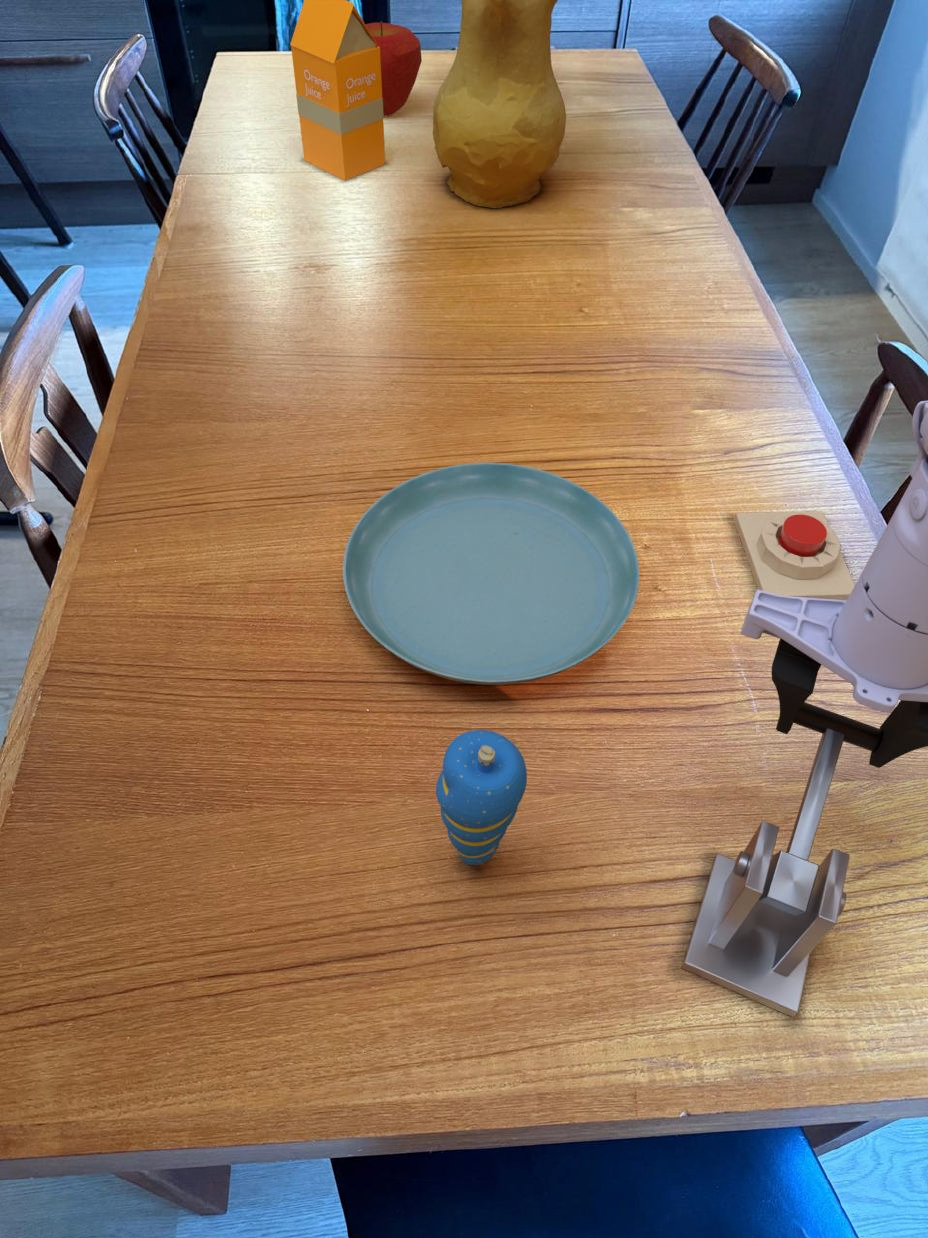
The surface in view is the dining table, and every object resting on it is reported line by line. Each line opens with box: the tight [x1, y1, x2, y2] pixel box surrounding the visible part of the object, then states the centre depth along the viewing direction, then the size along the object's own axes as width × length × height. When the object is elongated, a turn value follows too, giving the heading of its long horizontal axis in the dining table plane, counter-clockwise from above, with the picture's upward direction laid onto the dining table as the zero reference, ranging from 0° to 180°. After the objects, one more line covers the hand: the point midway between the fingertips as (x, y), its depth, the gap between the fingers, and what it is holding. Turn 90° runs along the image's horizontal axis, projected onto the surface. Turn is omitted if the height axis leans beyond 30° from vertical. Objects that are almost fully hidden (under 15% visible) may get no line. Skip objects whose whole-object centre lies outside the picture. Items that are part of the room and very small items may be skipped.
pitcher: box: [432, 0, 567, 209], centre depth 113 cm, size 17×19×25 cm
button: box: [779, 514, 827, 557], centre depth 76 cm, size 4×4×2 cm
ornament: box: [435, 729, 528, 866], centre depth 54 cm, size 5×5×15 cm
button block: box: [733, 510, 856, 600], centre depth 77 cm, size 10×8×2 cm
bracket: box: [681, 820, 851, 1018], centre depth 54 cm, size 8×7×10 cm
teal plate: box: [342, 462, 640, 686], centre depth 74 cm, size 24×24×3 cm
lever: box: [759, 701, 883, 916], centre depth 53 cm, size 12×5×2 cm, turn 155°
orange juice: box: [289, 0, 386, 182], centre depth 118 cm, size 8×9×20 cm
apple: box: [365, 20, 423, 117], centre depth 132 cm, size 11×11×12 cm
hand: (829, 736), depth 55 cm, fingers closed on lever, 5 cm apart
